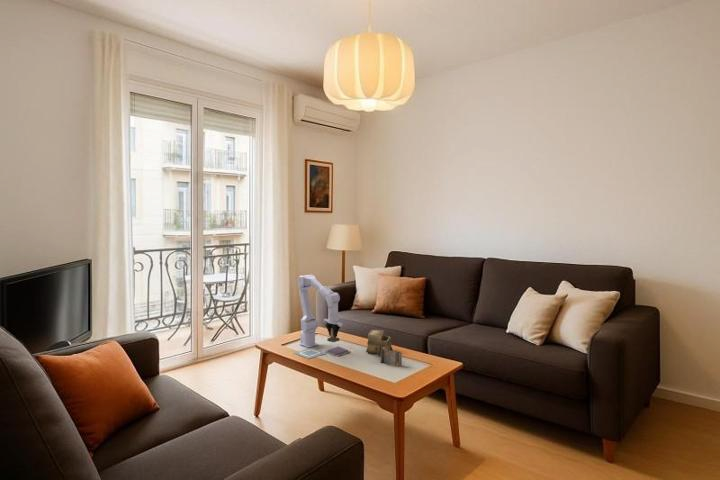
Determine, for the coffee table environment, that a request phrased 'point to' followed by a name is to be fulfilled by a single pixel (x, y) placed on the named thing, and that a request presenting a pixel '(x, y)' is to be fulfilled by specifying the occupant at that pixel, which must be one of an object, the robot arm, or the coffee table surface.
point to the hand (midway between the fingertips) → (333, 336)
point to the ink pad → (337, 351)
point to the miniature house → (378, 342)
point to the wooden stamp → (332, 339)
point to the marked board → (309, 353)
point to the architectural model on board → (391, 357)
